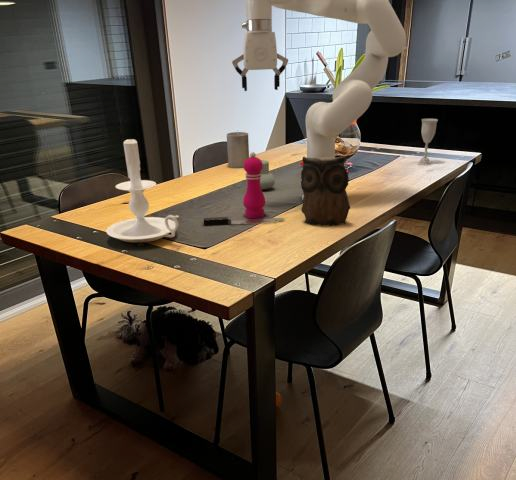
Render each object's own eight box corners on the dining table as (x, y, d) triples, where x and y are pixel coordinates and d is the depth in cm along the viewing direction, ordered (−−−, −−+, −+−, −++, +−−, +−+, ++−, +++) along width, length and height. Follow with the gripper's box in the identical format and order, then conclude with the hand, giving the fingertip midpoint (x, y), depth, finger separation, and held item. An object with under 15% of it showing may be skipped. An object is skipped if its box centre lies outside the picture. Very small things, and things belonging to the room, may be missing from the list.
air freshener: (247, 186, 210) (246, 160, 205) (267, 184, 212) (266, 158, 207) (255, 193, 201) (254, 165, 196) (276, 190, 203) (276, 163, 198)
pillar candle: (236, 162, 249) (235, 128, 241) (253, 164, 244) (252, 129, 236) (223, 166, 242) (221, 131, 235) (240, 169, 237) (239, 133, 230)
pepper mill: (263, 219, 172) (261, 154, 162) (241, 218, 174) (238, 154, 164) (267, 212, 179) (266, 149, 169) (246, 212, 180) (243, 149, 170)
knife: (282, 218, 173) (282, 212, 172) (283, 222, 169) (283, 216, 168) (204, 222, 171) (203, 217, 170) (203, 226, 168) (203, 220, 167)
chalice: (434, 165, 232) (440, 120, 223) (418, 165, 233) (423, 121, 224) (430, 161, 239) (435, 118, 230) (414, 162, 239) (419, 118, 230)
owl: (350, 224, 165) (354, 156, 155) (315, 230, 161) (316, 161, 151) (329, 213, 175) (332, 149, 165) (295, 219, 171) (296, 154, 161)
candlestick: (157, 257, 146) (143, 149, 131) (93, 242, 157) (74, 142, 143) (203, 235, 161) (194, 136, 146) (141, 223, 172) (128, 130, 158)
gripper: (230, 27, 156) (233, 92, 165) (289, 25, 157) (289, 90, 166) (230, 28, 163) (233, 90, 172) (286, 26, 164) (286, 88, 172)
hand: (260, 90), depth 169 cm, fingers open, 9 cm apart
